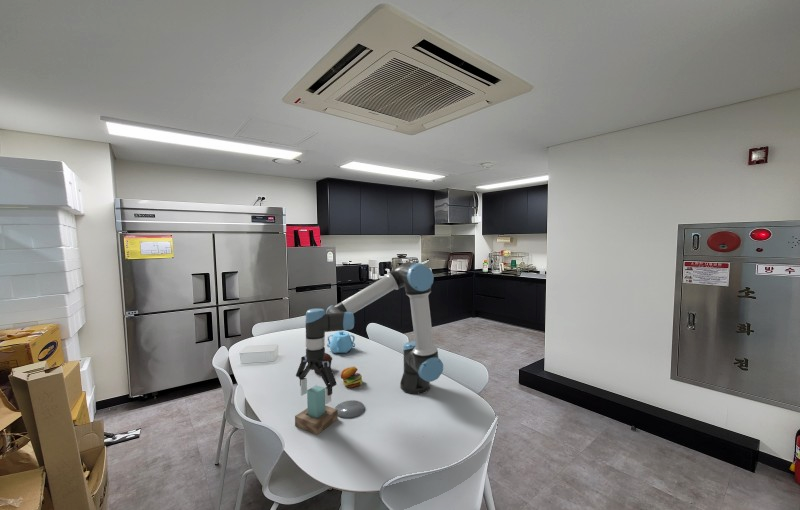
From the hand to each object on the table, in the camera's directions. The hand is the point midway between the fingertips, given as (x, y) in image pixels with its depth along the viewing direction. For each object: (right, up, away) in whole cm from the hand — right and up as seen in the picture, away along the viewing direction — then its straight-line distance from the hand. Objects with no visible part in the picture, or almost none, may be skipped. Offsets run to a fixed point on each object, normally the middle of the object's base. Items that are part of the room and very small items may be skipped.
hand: (315, 398), depth 125 cm
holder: (0, -10, 0) cm, 10 cm away
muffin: (-10, -9, +51) cm, 53 cm away
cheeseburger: (+9, -9, +34) cm, 37 cm away
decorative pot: (-6, -7, +84) cm, 85 cm away
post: (0, -10, 0) cm, 10 cm away
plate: (+12, -10, +10) cm, 19 cm away
